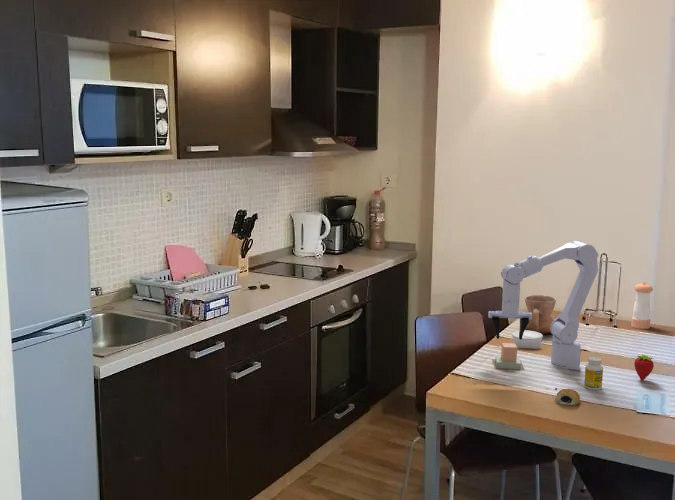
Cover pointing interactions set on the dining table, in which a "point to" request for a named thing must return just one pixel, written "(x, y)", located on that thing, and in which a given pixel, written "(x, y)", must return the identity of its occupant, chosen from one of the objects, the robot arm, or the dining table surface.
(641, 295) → the pepper shaker
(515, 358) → the terracotta block
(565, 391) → the pastry
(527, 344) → the ramekin
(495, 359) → the tower base
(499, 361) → the tower top
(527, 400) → the dining table surface
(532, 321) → the ceramic jug
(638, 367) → the strawberry
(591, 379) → the supplement bottle
